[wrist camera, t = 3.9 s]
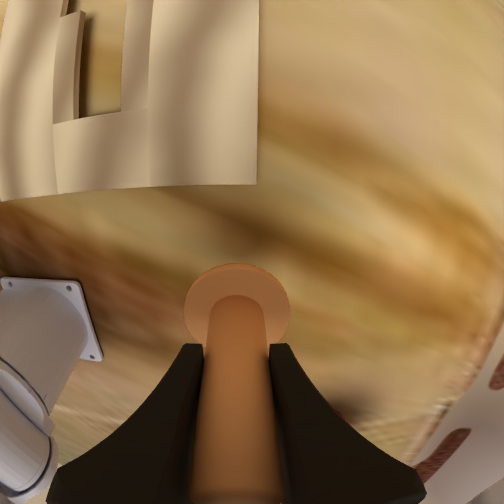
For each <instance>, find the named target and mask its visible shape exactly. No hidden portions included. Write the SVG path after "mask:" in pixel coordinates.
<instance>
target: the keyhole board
mask: <svg viewBox="0 0 504 504" xmlns="http://www.w3.org/2000/svg"><path fill="white" fill-rule="evenodd" d="M68 2H69V0H9V2H8V6H7V10H6V15H5V19H4V24H3V29H2V34H1V40H0V199H1V202H2V201H9V200H16V199H23V198H30V197H38V196H46V195H55V194H64V193H74V192H84V191H96V190H108V189H122V188H137V187H156V186H181V185H256V179H257V117H258V45H259V0H128V2H127V10H126V19H125V29H124V40H123V54H122V75H121V112H114V113H108V114H102V115H96V116H90V117H85V118H80V119H79V77H80V60H81V48H82V38H83V29H84V22H85V15H86V13H84V12H83V11H81V10H80V11H77V12H74V13H71V14H68V15H66V12H67V7H68Z"/></svg>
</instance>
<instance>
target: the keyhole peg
mask: <svg viewBox="0 0 504 504" xmlns="http://www.w3.org/2000/svg"><path fill="white" fill-rule="evenodd" d="M183 313H184V321H185V324H186V327H187V329H188V331H189V333H190V334H191V335H192V337H193V338H194V339H195V340H196V341H197V342H198V343H199V344H202V346H203V347H205V355H204V363H203V371H202V378H201V386H200V394H199V403H198V411H197V420H196V429H195V439H194V448H193V458H192V469H191V479H190V491H189V499H190V501H191V502H193V503H194V504H281V503H282V502H283V501H284V489H283V480H282V471H281V462H280V453H279V444H278V435H277V426H276V417H275V408H274V400H273V391H272V382H271V375H270V366H269V356H268V348H269V347H270V344H275V343H277V342H278V341H279V340H280V339H281V337H282V336H283V335H284V333H285V332H286V330H287V328H288V325H289V322H290V305H289V301H288V297H287V294H286V292H285V290H284V288H283V286H282V285H281V283H280V282H279V281H278V280H277V279H276V278H275V277H274V276H273V275H271V274H270V273H268V272H267V271H265V270H263V269H261V268H259V267H256V266H252V265H248V264H238V263H235V264H225V265H221V266H217V267H214V268H212V269H210V270H208V271H206V272H205V273H203V274H202V275H201V276H199V277H198V278H197V279H196V280H195V281H194V283H193V284H192V286H191V287H190V289H189V291H188V294H187V297H186V300H185V304H184V310H183Z"/></svg>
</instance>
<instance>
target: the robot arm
mask: <svg viewBox="0 0 504 504" xmlns="http://www.w3.org/2000/svg"><path fill="white" fill-rule="evenodd" d="M0 282H1V286H2V290H1V291H0V504H24V503H25V502H26V501H27V500H29V499H30V498H32V497H34V496H36V495H37V494H40V493H41V492H43V491H44V490H45V489H46V488H47V487H48V486H49V484H50V483H51V485H50V489H49V492H48V495H47V498H46V502H47V504H194V503H193V502H191V501H190V499H189V491H190V479H191V469H192V458H193V448H194V439H195V429H196V420H197V411H198V403H199V394H200V386H201V378H202V371H203V363H204V356H203V347H202V344H189V343H185V344H184V345H183V346H182V348H181V350H180V352H179V354H178V355H177V357H176V359H175V360H174V362H173V363H172V365H171V366H170V368H169V369H168V371H167V372H166V374H165V375H164V377H163V378H162V379H161V381H160V382H159V384H158V385H157V386H156V388H155V389H154V390H153V391H152V393H151V394H150V395H149V396H148V398H147V399H146V400H145V401H144V402H143V403H142V405H141V406H140V407H139V408H138V409H137V410H136V411H135V412H134V413H133V414H132V415H131V416H130V417H129V418H128V419H127V420H126V421H125V422H124V423H123V424H122V425H121V426H120V427H119V428H117V429H116V430H115V431H114V432H113V433H112V434H111V435H109V436H108V437H107V438H106V439H104V440H103V441H101V442H100V443H99V444H97V445H96V446H94V447H93V448H92V449H90V450H89V451H87V452H86V453H84V454H83V455H81V456H79V457H78V458H76V459H74V460H72V461H71V462H69V463H67V464H65V465H63V466H61V467H59V468H58V469H57V465H58V447H57V444H56V442H55V440H54V438H53V437H52V436H51V433H52V431H53V429H54V427H55V424H54V423H53V422H52V421H51V419H50V418H49V415H50V413H51V411H52V409H53V407H54V405H55V403H56V401H57V399H58V397H59V395H60V393H61V391H62V389H63V387H64V385H65V384H66V382H67V380H68V378H69V376H70V374H71V372H72V370H73V369H74V367H75V365H76V363H77V361H78V360H79V359H85V360H92V361H102V359H103V355H102V352H101V349H100V346H99V344H98V341H97V338H96V335H95V332H94V329H93V326H92V323H91V319H90V316H89V313H88V310H87V306H86V303H85V299H84V296H83V292H82V288H81V285H80V284H79V283H78V282H77V281H68V280H48V279H31V278H15V277H3V278H1V280H0ZM69 286H70V287H71V288H72V289H71V288H69ZM269 366H270V375H271V382H272V391H273V400H274V408H275V417H276V426H277V435H278V444H279V453H280V462H281V471H282V480H283V489H284V501H283V502H282V504H418V503H420V502H421V501H422V500H423V499H424V498H425V496H426V494H427V492H426V490H425V487H424V484H423V482H422V480H421V478H420V476H419V475H418V473H417V471H416V470H415V469H413V468H411V467H409V466H407V465H406V464H404V463H402V462H400V461H398V460H396V459H395V458H393V457H391V456H390V455H388V454H387V453H385V452H384V451H382V450H381V449H379V448H378V447H376V446H375V445H374V444H372V443H371V442H370V441H368V440H367V439H366V438H364V437H363V436H362V435H361V434H359V433H358V432H357V431H356V430H355V429H353V428H352V427H351V426H350V425H349V424H348V423H347V422H346V421H345V420H344V419H343V418H342V417H341V416H340V415H339V414H338V413H337V412H336V411H335V410H334V409H333V408H332V407H331V406H330V405H329V403H328V402H327V401H326V400H325V399H324V398H323V396H322V395H321V394H320V393H319V391H318V390H317V389H316V387H315V386H314V385H313V383H312V382H311V381H310V379H309V378H308V376H307V375H306V373H305V372H304V370H303V369H302V367H301V366H300V364H299V363H298V361H297V359H296V357H295V356H294V354H293V352H292V350H291V348H290V346H289V345H288V344H287V343H280V344H270V347H269ZM56 470H57V471H56ZM51 481H52V482H51ZM466 504H504V478H503V479H501V480H500V481H498V482H497V483H495V484H494V485H492V486H490V487H489V488H487V489H486V490H484V491H483V492H481V493H480V494H478V495H477V496H476V497H475V498H473V500H471V501H470V502H468V503H466Z"/></svg>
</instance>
